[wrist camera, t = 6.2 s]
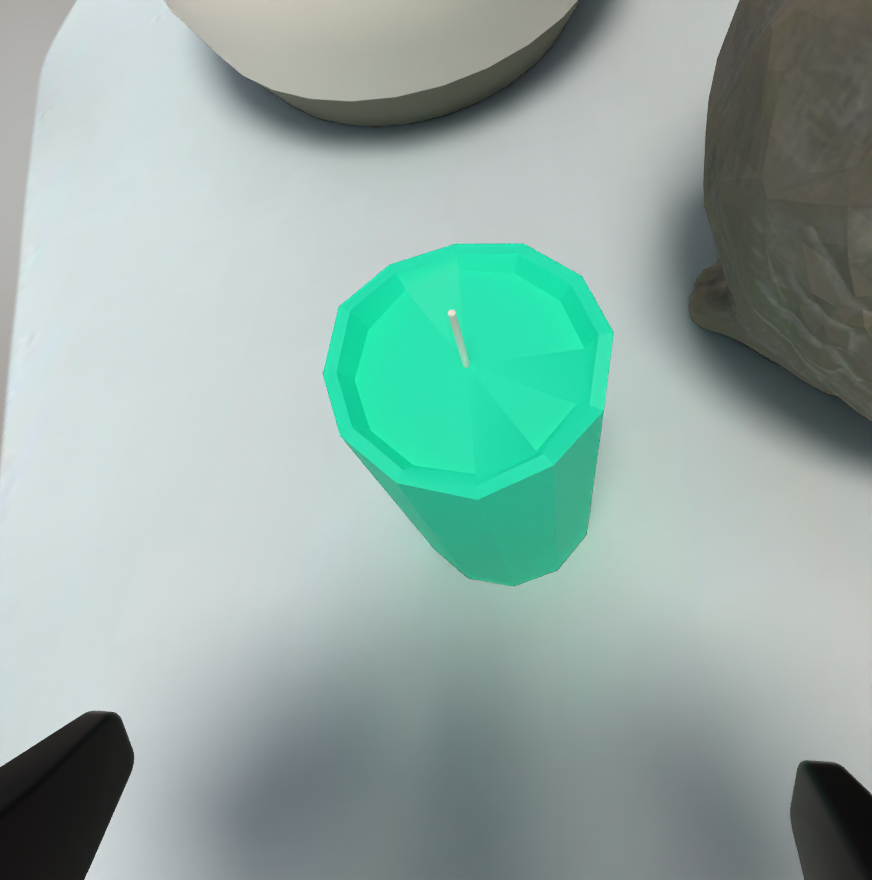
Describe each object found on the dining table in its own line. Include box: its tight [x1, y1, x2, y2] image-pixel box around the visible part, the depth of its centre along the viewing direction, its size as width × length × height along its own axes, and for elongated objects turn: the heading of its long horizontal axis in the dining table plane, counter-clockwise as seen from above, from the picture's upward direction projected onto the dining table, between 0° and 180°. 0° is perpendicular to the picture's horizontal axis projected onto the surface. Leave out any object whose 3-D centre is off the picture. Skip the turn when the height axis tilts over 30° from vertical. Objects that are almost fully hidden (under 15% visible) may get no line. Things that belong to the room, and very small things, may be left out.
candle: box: [323, 244, 614, 586], centre depth 17 cm, size 6×6×12 cm
